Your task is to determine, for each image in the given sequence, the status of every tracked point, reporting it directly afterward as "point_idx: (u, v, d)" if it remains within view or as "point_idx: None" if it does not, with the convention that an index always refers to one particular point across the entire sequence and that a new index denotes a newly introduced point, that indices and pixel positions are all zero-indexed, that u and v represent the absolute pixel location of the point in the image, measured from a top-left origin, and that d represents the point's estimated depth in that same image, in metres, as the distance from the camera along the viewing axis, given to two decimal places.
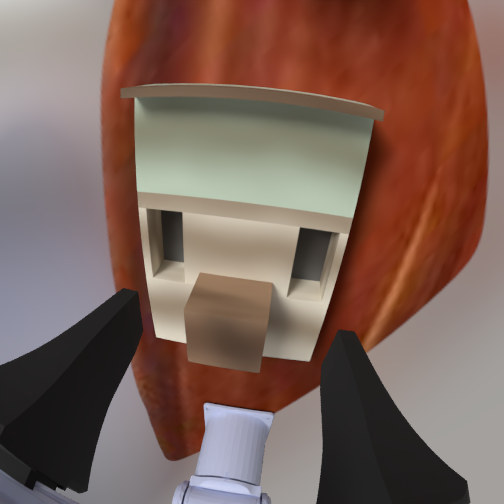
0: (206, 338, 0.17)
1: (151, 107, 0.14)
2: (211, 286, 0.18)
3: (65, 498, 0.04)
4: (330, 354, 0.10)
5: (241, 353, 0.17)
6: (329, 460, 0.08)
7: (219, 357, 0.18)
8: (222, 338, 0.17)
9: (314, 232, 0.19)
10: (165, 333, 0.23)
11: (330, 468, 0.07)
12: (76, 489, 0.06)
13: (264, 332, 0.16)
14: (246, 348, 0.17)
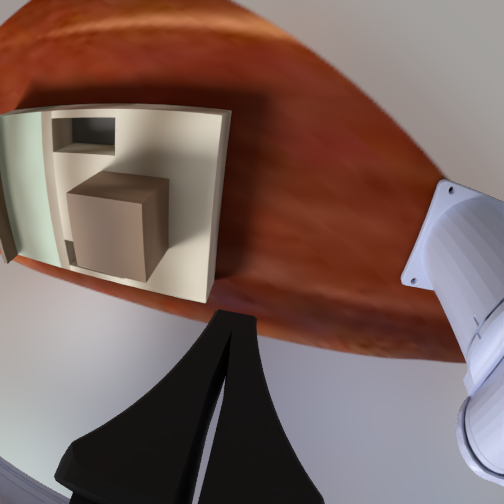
0: (103, 254, 0.15)
1: (19, 246, 0.20)
2: None
3: (65, 498, 0.04)
4: None
5: (111, 222, 0.14)
6: None
7: (126, 247, 0.15)
8: (96, 238, 0.14)
9: (86, 127, 0.17)
10: (196, 291, 0.20)
11: None
12: None
13: (76, 196, 0.13)
14: (102, 215, 0.14)
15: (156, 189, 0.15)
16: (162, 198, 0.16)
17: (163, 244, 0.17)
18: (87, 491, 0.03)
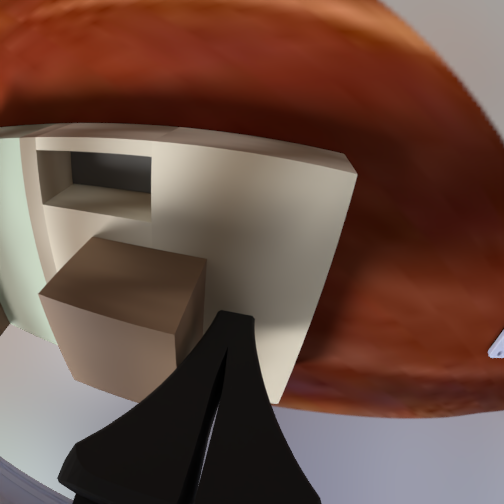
0: (110, 379, 0.09)
1: (11, 315, 0.15)
2: None
3: (65, 498, 0.04)
4: None
5: (120, 347, 0.08)
6: None
7: (148, 379, 0.09)
8: (98, 360, 0.09)
9: (94, 161, 0.11)
10: (268, 394, 0.14)
11: None
12: None
13: (55, 302, 0.08)
14: (103, 336, 0.08)
15: (191, 289, 0.09)
16: (198, 294, 0.10)
17: None
18: (91, 493, 0.03)
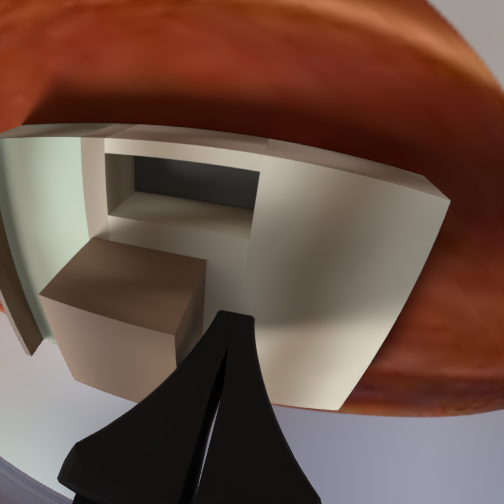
0: (110, 379, 0.09)
1: (46, 331, 0.14)
2: None
3: (65, 498, 0.04)
4: None
5: (120, 348, 0.08)
6: None
7: (148, 379, 0.09)
8: (98, 361, 0.09)
9: (165, 168, 0.11)
10: (331, 401, 0.14)
11: None
12: None
13: (55, 303, 0.08)
14: (103, 337, 0.08)
15: (191, 290, 0.09)
16: (198, 295, 0.10)
17: None
18: (91, 493, 0.03)
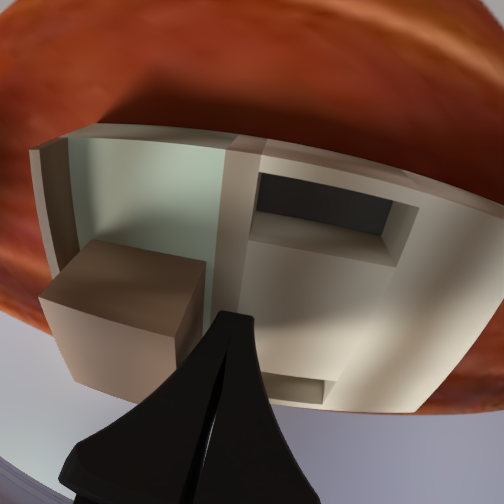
0: (111, 380, 0.09)
1: None
2: None
3: (65, 498, 0.04)
4: None
5: (120, 350, 0.08)
6: None
7: (148, 381, 0.09)
8: (98, 362, 0.09)
9: (297, 189, 0.11)
10: (412, 404, 0.14)
11: None
12: None
13: (55, 305, 0.08)
14: (103, 339, 0.08)
15: (191, 292, 0.09)
16: (198, 297, 0.10)
17: None
18: (92, 493, 0.03)
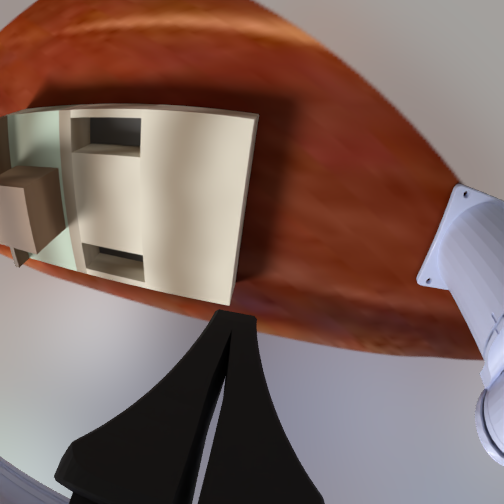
0: (9, 232, 0.15)
1: None
2: None
3: (65, 498, 0.04)
4: None
5: (9, 204, 0.14)
6: None
7: (20, 224, 0.15)
8: (3, 218, 0.15)
9: (106, 127, 0.17)
10: (220, 294, 0.20)
11: None
12: None
13: None
14: (4, 199, 0.14)
15: (42, 176, 0.15)
16: (50, 184, 0.16)
17: (57, 223, 0.18)
18: (87, 491, 0.03)
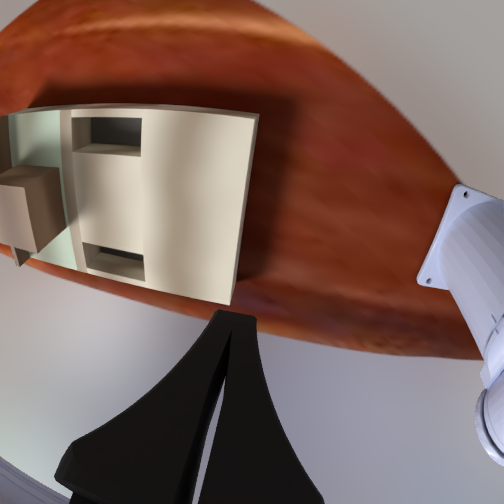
0: (9, 231, 0.15)
1: None
2: None
3: (65, 498, 0.04)
4: None
5: (10, 203, 0.14)
6: None
7: (21, 224, 0.15)
8: (4, 218, 0.15)
9: (107, 127, 0.17)
10: (220, 293, 0.20)
11: None
12: None
13: None
14: (5, 199, 0.14)
15: (42, 176, 0.15)
16: (51, 183, 0.16)
17: (58, 222, 0.18)
18: (87, 491, 0.03)
